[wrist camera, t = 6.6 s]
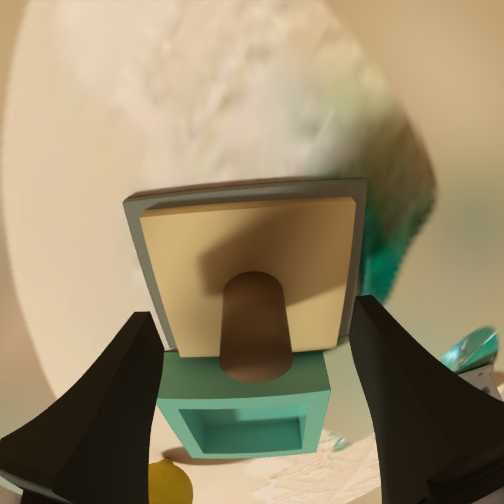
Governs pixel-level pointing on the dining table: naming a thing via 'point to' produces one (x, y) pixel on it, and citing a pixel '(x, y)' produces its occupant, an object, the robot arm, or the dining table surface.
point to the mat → (245, 194)
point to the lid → (252, 279)
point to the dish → (244, 407)
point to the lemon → (168, 484)
